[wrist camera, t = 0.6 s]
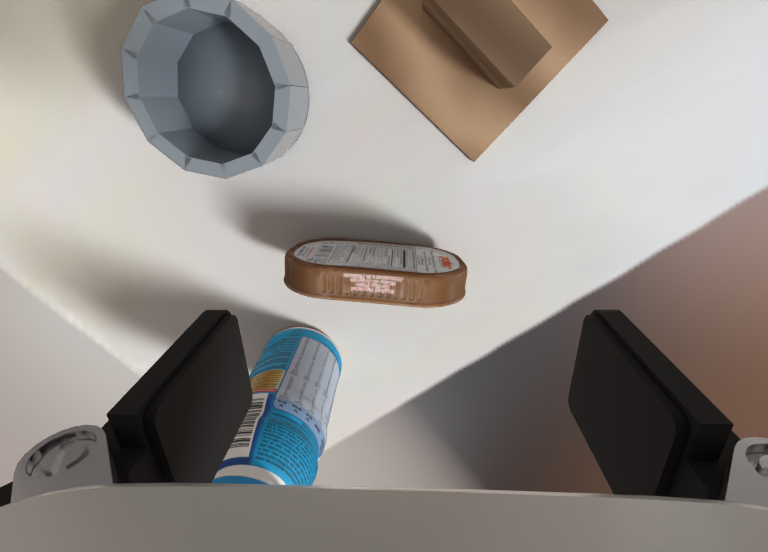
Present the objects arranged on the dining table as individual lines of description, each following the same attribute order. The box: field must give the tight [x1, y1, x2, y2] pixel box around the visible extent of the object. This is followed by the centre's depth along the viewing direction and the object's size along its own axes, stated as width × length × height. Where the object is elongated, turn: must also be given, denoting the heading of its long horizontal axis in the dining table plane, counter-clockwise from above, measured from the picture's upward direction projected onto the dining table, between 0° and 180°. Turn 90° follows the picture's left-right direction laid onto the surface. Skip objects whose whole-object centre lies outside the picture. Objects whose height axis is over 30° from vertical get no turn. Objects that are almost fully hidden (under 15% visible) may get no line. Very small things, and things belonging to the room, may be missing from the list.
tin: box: [284, 239, 467, 308], centre depth 33 cm, size 15×3×8 cm, turn 86°
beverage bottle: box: [212, 327, 342, 485], centre depth 33 cm, size 8×8×20 cm
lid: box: [351, 0, 608, 162], centre depth 27 cm, size 13×13×6 cm
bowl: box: [121, 0, 309, 179], centre depth 29 cm, size 11×11×6 cm
